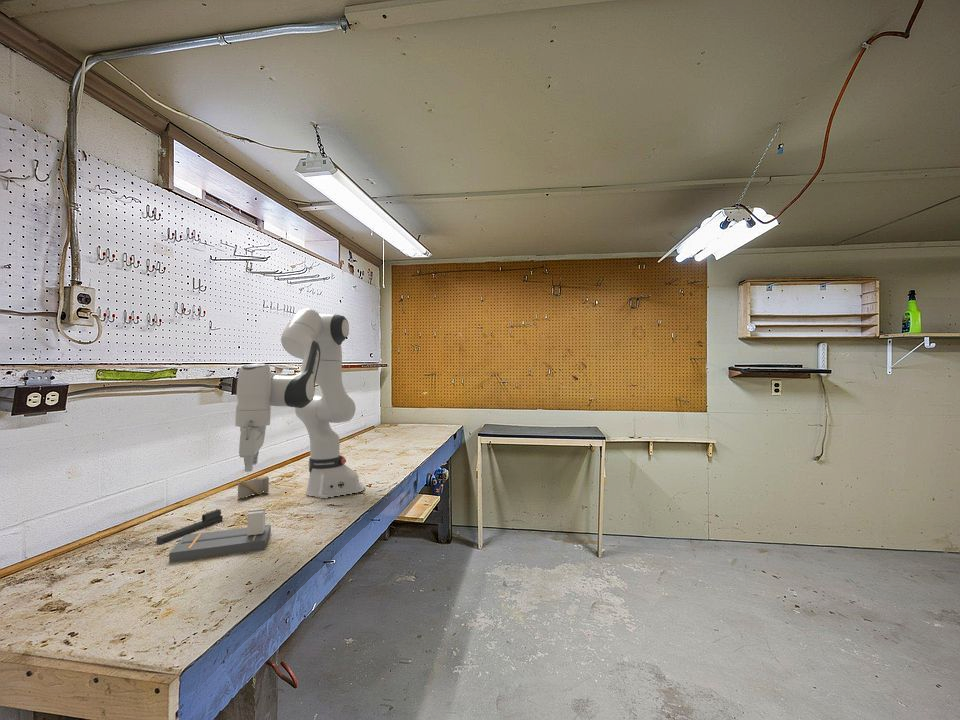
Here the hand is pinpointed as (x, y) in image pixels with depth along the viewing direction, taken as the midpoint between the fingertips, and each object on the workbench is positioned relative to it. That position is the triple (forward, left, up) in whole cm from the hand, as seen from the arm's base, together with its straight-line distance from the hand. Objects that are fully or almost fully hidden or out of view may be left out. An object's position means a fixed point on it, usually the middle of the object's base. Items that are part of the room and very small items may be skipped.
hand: (251, 467), depth 118 cm
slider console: (+6, 0, -21) cm, 22 cm away
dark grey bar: (+18, -16, -22) cm, 33 cm away
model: (+7, -48, -22) cm, 53 cm away
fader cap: (-2, 0, -18) cm, 19 cm away
